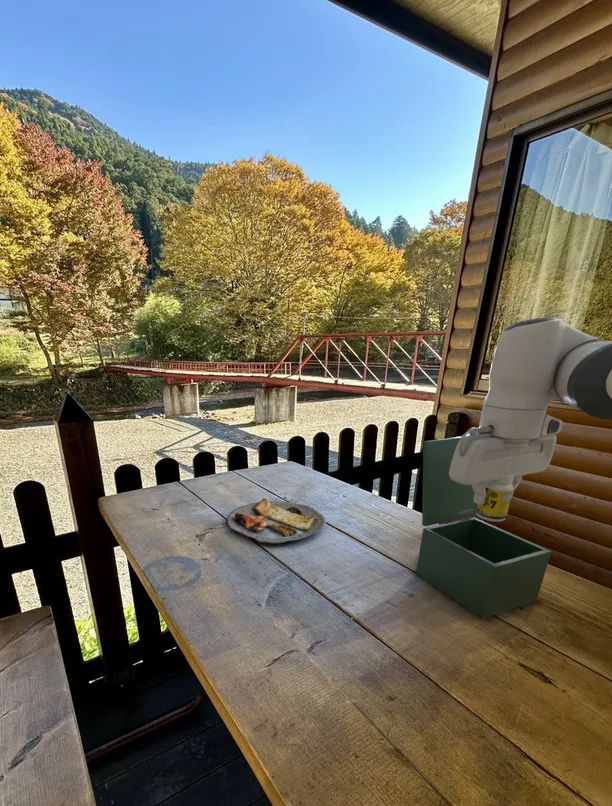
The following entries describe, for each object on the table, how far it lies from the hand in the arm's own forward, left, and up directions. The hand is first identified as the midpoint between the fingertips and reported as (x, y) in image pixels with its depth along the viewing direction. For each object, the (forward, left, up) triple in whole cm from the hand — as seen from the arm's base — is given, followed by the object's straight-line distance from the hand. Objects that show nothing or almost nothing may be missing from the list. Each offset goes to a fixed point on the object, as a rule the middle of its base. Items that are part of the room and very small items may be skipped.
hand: (492, 500), depth 73 cm
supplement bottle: (0, 0, -3) cm, 3 cm away
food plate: (+23, -40, -19) cm, 50 cm away
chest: (0, 0, -18) cm, 18 cm away
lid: (0, -9, +1) cm, 9 cm away
